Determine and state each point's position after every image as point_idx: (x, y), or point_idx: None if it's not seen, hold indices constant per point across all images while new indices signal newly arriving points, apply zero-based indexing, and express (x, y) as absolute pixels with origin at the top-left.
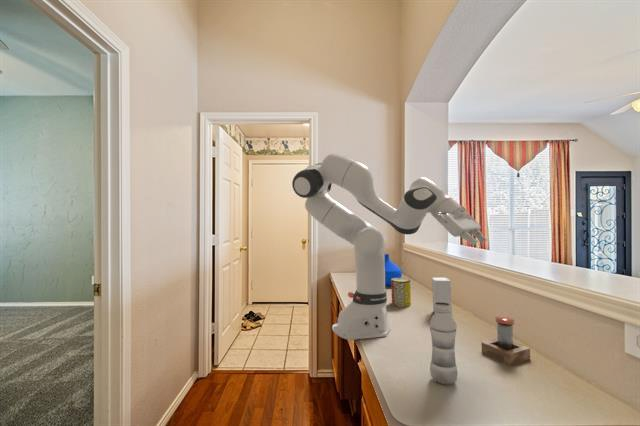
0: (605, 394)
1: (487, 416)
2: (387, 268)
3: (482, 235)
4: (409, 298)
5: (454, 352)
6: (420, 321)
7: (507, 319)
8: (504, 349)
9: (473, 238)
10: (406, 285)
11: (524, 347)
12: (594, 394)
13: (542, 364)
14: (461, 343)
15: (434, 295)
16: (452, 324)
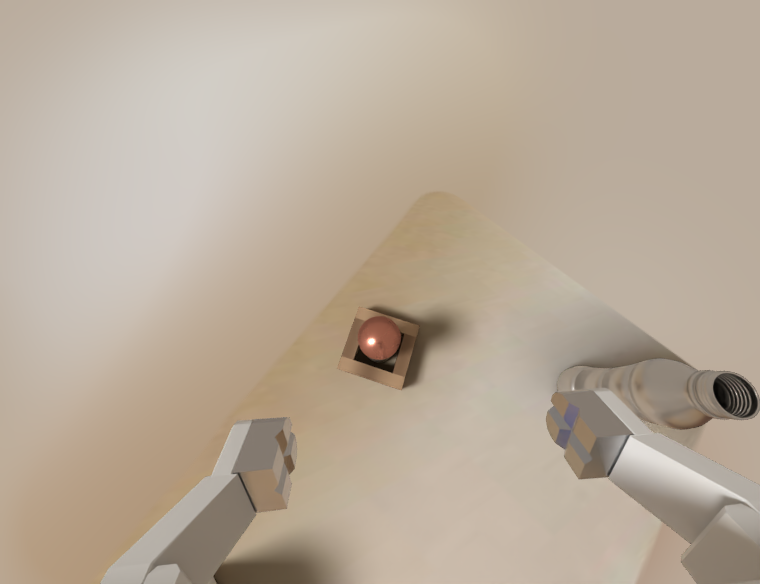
0: (407, 215)
1: (596, 305)
2: None
3: (215, 481)
4: None
5: (600, 370)
6: None
7: (377, 331)
8: (403, 340)
9: (639, 420)
10: None
11: (361, 315)
12: (418, 224)
13: (369, 290)
14: (389, 443)
15: None
16: (677, 361)
